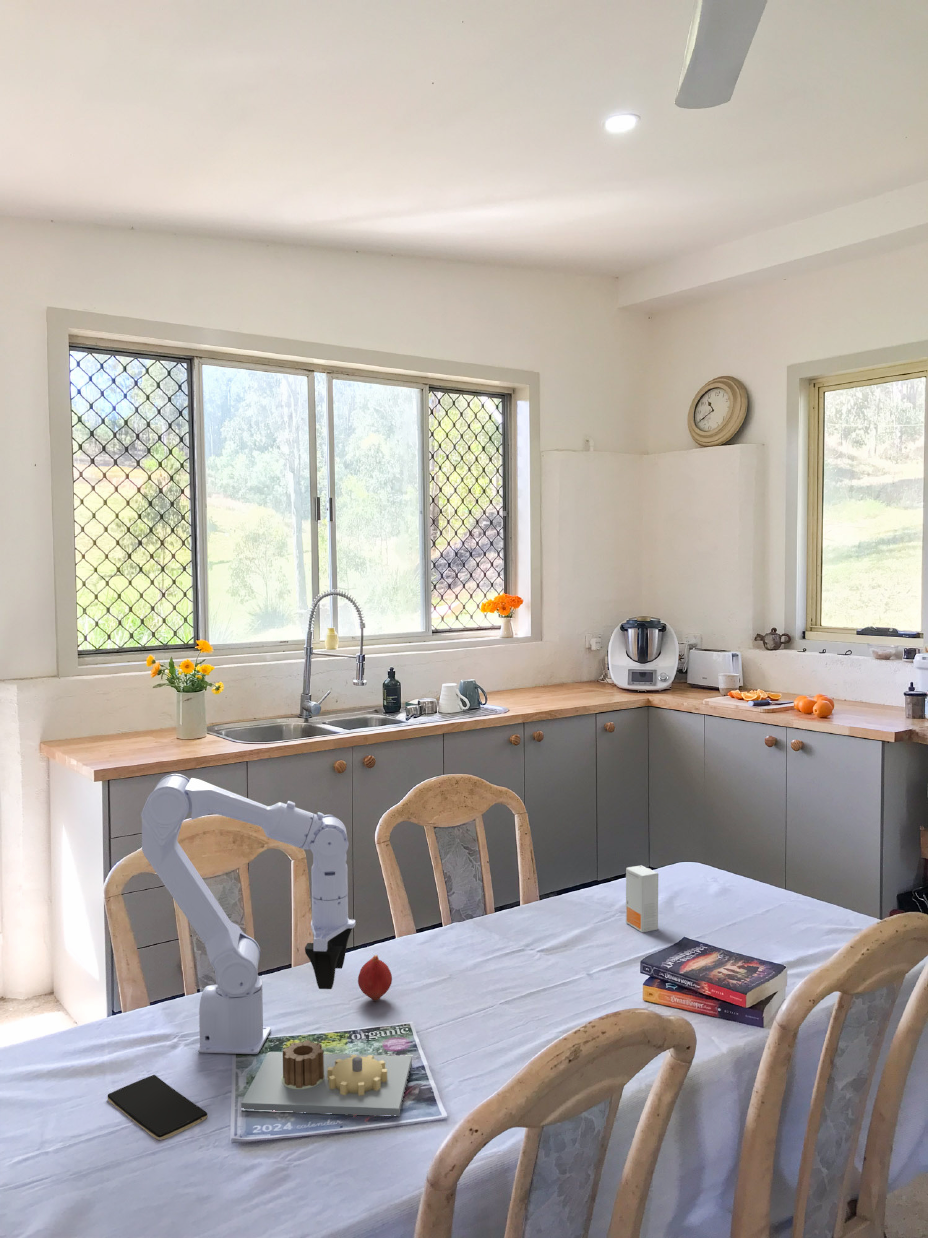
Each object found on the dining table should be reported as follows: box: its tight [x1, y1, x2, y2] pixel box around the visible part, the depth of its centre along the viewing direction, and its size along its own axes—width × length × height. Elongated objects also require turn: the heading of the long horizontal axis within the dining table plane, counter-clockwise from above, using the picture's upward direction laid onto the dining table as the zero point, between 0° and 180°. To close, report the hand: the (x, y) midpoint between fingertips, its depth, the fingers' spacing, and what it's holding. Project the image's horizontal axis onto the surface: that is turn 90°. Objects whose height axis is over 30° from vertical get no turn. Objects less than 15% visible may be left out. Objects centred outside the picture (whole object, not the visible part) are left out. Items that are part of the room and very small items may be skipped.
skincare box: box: [625, 864, 659, 933], centre depth 200 cm, size 6×4×12 cm
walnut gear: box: [282, 1039, 325, 1088], centre depth 140 cm, size 6×6×4 cm
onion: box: [357, 954, 393, 1002], centre depth 167 cm, size 6×6×8 cm
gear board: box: [240, 1051, 413, 1117], centre depth 139 cm, size 22×14×4 cm, turn 86°
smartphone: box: [107, 1074, 209, 1141], centre depth 134 cm, size 7×1×15 cm
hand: (330, 977), depth 154 cm, fingers open, 7 cm apart
